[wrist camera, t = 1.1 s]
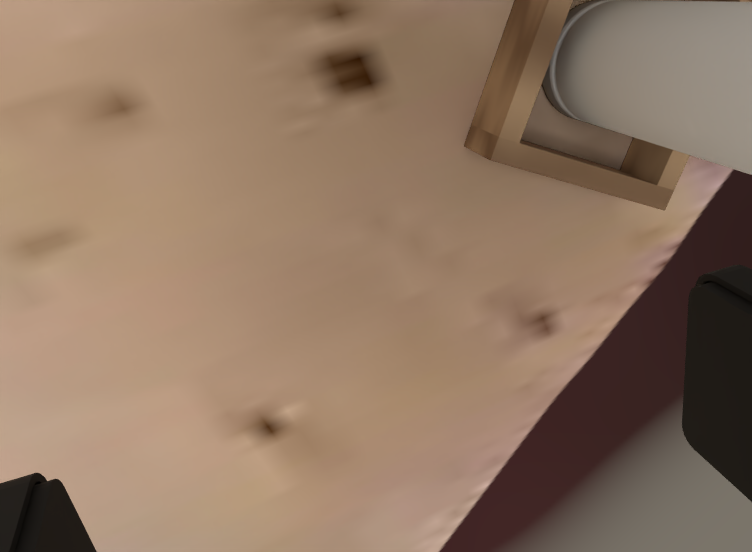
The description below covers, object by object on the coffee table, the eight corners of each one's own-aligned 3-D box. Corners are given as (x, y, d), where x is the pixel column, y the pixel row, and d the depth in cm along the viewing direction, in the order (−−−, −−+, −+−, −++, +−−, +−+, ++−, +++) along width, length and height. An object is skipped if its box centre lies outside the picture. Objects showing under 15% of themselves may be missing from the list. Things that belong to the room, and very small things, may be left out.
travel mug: (583, 145, 38) (932, 276, 21) (516, 62, 35) (856, 132, 18) (662, 64, 38) (1092, 127, 20) (601, -28, 35) (1041, -49, 17)
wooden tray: (549, -98, 33) (587, -107, 30) (719, -19, 37) (769, -20, 34) (463, 145, 36) (490, 160, 33) (627, 193, 40) (664, 210, 37)
